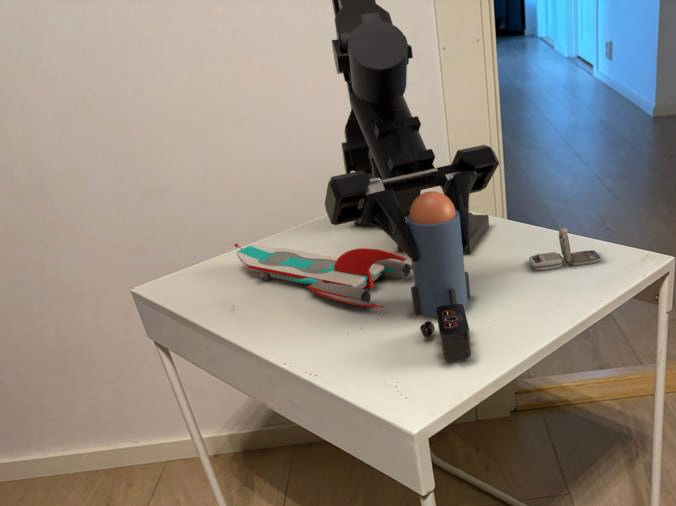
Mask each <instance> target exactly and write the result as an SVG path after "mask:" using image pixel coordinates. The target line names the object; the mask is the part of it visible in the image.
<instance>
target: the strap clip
mask: <svg viewBox="0 0 676 506" xmlns="http://www.w3.org/2000/svg"><path fill="white" fill-rule="evenodd" d="M568 233H569V231H568V229H567V228H566V227H560V228H558V240H559V246H560V251H561V253H560V252H556V251H552V252H545V253H543V252H542V253H537V254H534V255H531V256H529V258H528V262H529V264H530V266H531V267H532V269H533V270H535V271H546V270H547V271H548V270H552V269H559V268H562V267H563V266H564V265H565V263H564V261H566V262H567V264H569V265H572V266H579V265H580V266H582V265H589V264H595V263H597V262H599V261H601V255H599V254H598V253H597V251H596V250H583V251H575V252H571V246H570V245H571V244H570V240H569V236H568ZM589 255H593V256H594V257H593V258H591V257H590V256H589Z"/></svg>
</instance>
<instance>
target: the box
mask: <svg viewBox="0 0 676 506" xmlns="http://www.w3.org/2000/svg"><path fill="white" fill-rule="evenodd" d="M489 228H490V219H489V214H473V213H472V212H469V246H468V247H467V248H463V255H472V253H473V251H474V250H475V248H476V247H477V245H478V244H479V242H481V240H482V239H483V237H484V236H485V234H486V232H487V231H488V230H489ZM396 246H397V252H398V253H405V252H404V251H403V250H402V249H401V248H400V247H399V246H398V245H397V244H396Z"/></svg>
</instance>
